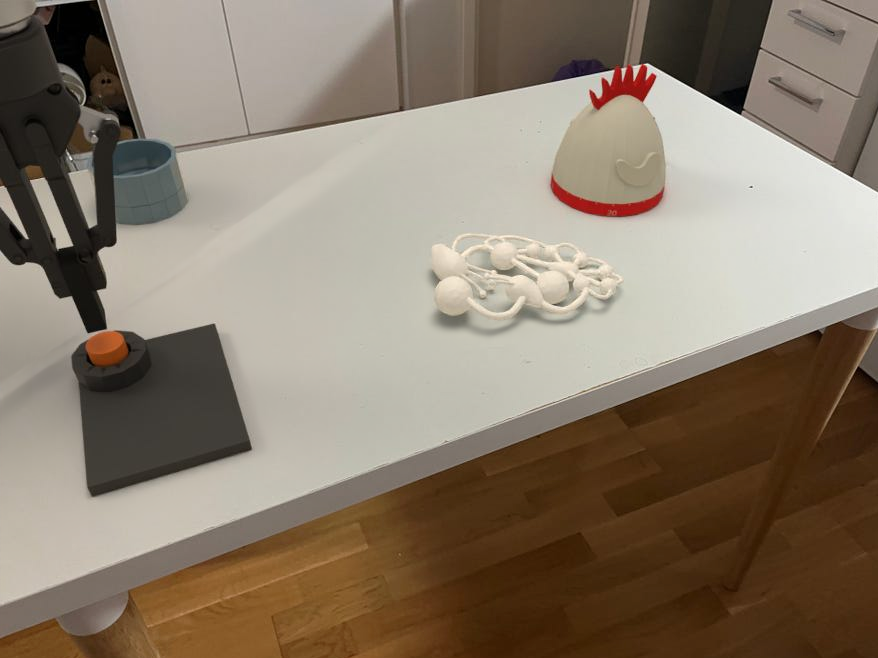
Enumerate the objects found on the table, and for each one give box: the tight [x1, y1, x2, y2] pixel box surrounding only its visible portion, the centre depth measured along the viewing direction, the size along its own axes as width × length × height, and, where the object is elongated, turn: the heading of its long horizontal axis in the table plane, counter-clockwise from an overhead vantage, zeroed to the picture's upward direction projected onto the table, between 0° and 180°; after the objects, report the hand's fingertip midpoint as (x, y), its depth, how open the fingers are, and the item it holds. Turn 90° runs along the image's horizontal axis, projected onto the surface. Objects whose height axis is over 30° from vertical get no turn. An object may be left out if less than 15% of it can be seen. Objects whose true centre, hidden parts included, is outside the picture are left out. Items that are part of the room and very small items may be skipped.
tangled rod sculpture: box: [429, 233, 625, 321], centre depth 77 cm, size 19×14×4 cm
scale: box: [70, 323, 253, 497], centre depth 63 cm, size 16×12×3 cm
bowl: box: [86, 138, 189, 226], centre depth 84 cm, size 9×9×8 cm
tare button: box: [86, 330, 128, 367], centre depth 64 cm, size 3×3×2 cm
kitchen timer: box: [550, 63, 667, 218], centre depth 89 cm, size 14×14×15 cm
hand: (96, 321), depth 62 cm, fingers closed
